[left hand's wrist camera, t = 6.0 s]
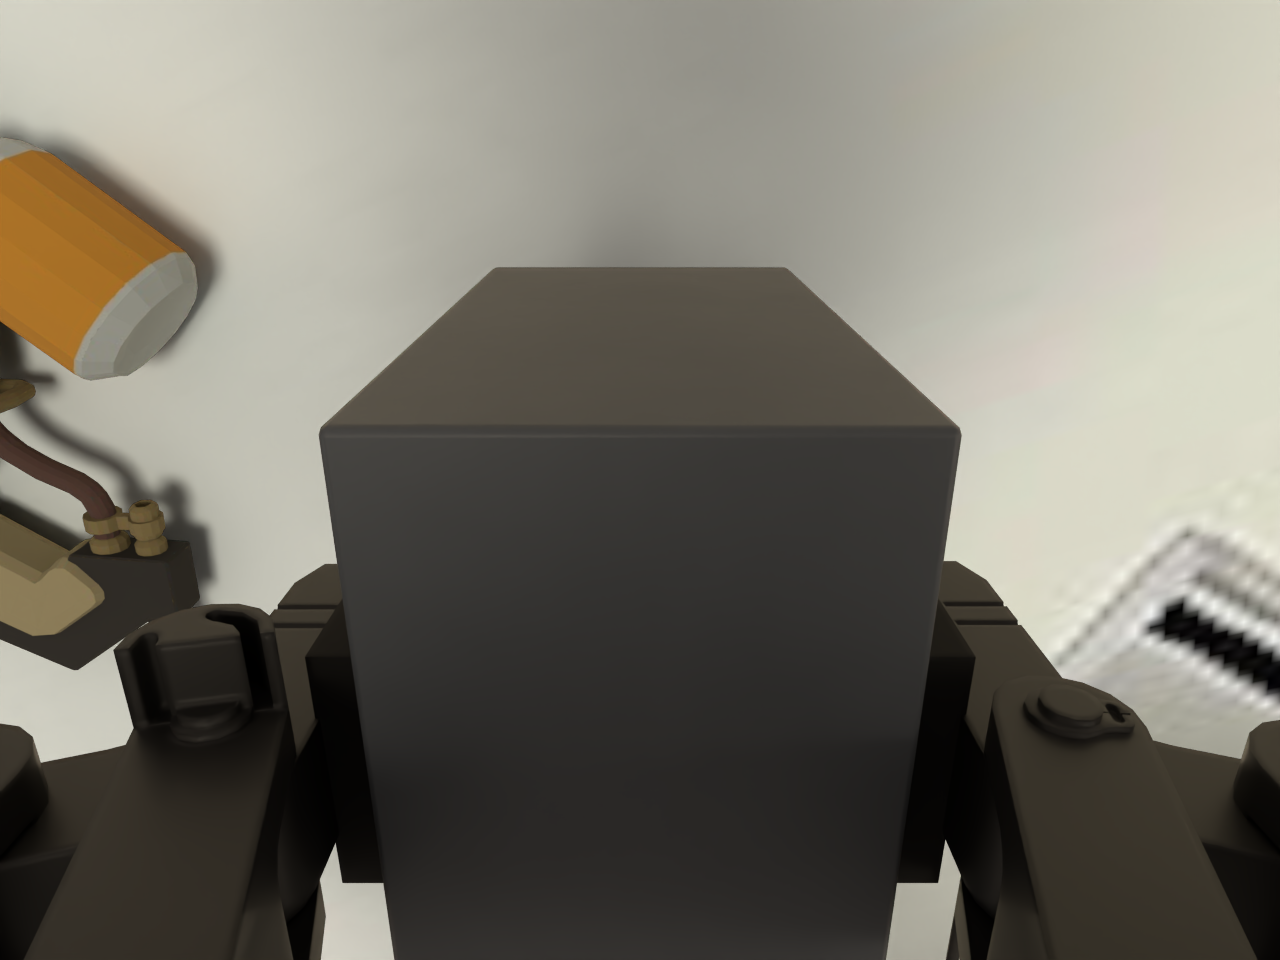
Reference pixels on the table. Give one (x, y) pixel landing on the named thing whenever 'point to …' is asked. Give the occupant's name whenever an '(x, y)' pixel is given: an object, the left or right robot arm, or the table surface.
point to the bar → (640, 617)
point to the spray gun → (93, 349)
